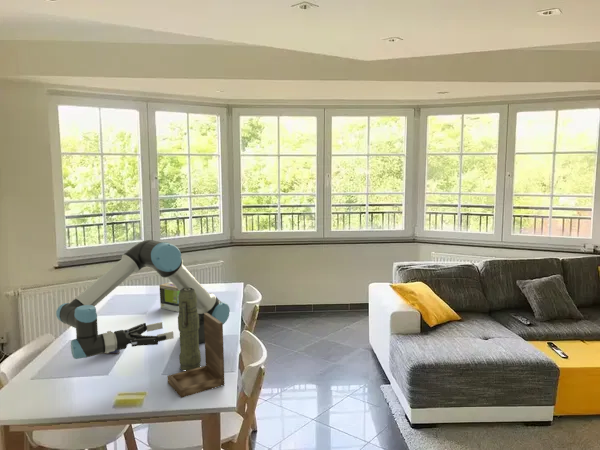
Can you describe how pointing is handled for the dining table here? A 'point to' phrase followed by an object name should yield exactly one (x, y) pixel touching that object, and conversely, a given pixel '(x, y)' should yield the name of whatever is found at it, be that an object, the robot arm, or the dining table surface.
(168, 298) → the tea box
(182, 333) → the thermos
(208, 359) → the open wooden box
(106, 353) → the flask
